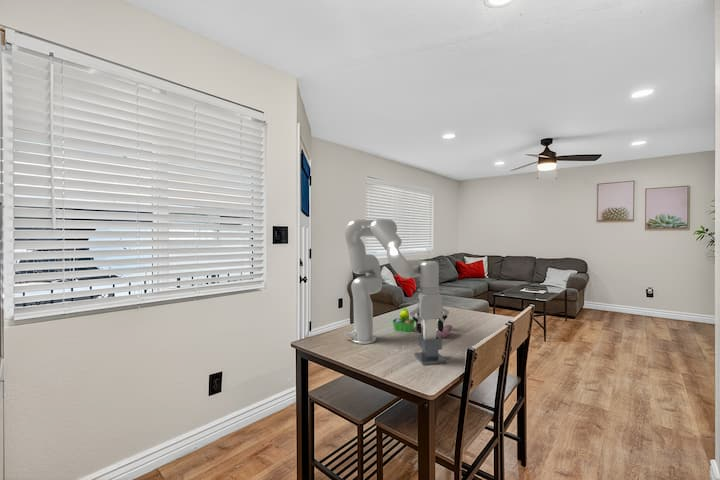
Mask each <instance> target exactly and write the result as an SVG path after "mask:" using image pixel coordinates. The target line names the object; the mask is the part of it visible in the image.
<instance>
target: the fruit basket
mask: <svg viewBox="0 0 720 480" xmlns="http://www.w3.org/2000/svg"><path fill="white" fill-rule="evenodd" d="M391 322H392V325H393V329H394V331H398V332H399V331H400V332H409V333H412V332H413V330H414V325H415V323H416V322H415V321H414V320H413V319H411V318H410V312H409V310H408V309H407V308H406V307H403V308H402V309H401V310H400V313H399V318H397V317H396V318H394V319H393V320H392V321H391Z"/></svg>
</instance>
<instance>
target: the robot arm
mask: <svg viewBox="0 0 720 480" xmlns="http://www.w3.org/2000/svg"><path fill="white" fill-rule="evenodd" d="M397 232H398V227H397V223H396V222H395V221H394V220H392V219H389V218H377V219H353V220H350V221H349V222H348V223H347V224H346V226H345V230H344V238H345V242H346V245H347V251H348V256H349V263H350V268H351V271H352V273H354V274H356V275H362V274H365V275H363V276H358V277H357V278H355V279H353V281H352V282H351V286H350V288H351V295H352V300H353V302H352V303H353V329H352V330H351V331H350V332H349V331H347V332H344V337H345V338H346V337H347V338H350V341H351V342H353V343H355V344H360V345H367V344H372V343H374V342H376V340H377V337H376V336H375V335H374V319H373V318H374V315H373V314H374V312H373V311H374V310H373V306H374V305H373V302H372V299H371V296H370V295H374V294H377V293H379V292H380V291H381V290H382V289H383V278H382V271H381V266H380V262H379V261H380V260H378V258H377V256H375V255H374V254H372V253H371V254H370V253H367V250H366V246H365V243H364V241H363V240H362V238H361V237H375V238H376V240H377V242H379V243H380V245H381V246H382V247H383V248H384V249H385V250H386V257H387V261H388V263H389V265H390V266H391V268H392V270H394V271H395V273H396V274H397V275H398V276H399V277H401V278H403V279H413V278H418V277H420V279H419V280H420V281H419V282H420V283H419V284H420V286H419V288H417V292H419V293H418V296H417V297H418V298H417V303H416V308H415V309H413V310H412V311H409V316H410V317H411V318H412V320H414V321H415V322H414V323H415V330H416V332H417V333H418V334H422V323H421V322H423V319H436V320H438V321H437V328H438V332H439V333H440V332H443V329H444V323H445V320H446V319H448V316H449V314H450V311H449V310H448V309H446V308H444V305H443V298H442V295H441V293H440V292H439V290H440V286H439V285H440V284H439V283H440V282H439V280H440V279H439V278H440V277H439V272H440V269H439V267H440V266H439V263H438V261H434V260H421V259H409V260H407V259H406V257H404V255H403V254H402V252H400V247H401V245H402V242H403V241H402V238H401V237H400V236H399V235H398V234H397ZM415 315H417V317H416V316H415Z"/></svg>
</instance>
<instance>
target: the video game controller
mask: <svg viewBox="0 0 720 480" xmlns="http://www.w3.org/2000/svg"><path fill="white" fill-rule="evenodd" d="M452 329H453V326H452V325H451V324H449V323H448V324H445V326H443V332H440V331H439V332H438V333H436V335H437V336H439V337H440V338H441V339H442V338H443V337H444V338H446V337H447V336H448V335H450V332H451V331H452Z"/></svg>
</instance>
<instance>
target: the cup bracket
mask: <svg viewBox="0 0 720 480" xmlns="http://www.w3.org/2000/svg"><path fill="white" fill-rule="evenodd" d="M417 336H418V337H417V340H418V341H417V342H418V346H419V347H420V348H421V352H414V357H415V358H416V359H417V360H418V362H420V363H421V364H422V365H423V366H429V365H440V364H441V365H442V364H447V359H446V358H445V357H443V356H442V355H441V354H440V353H439V351H440V350H443V340H442V338H440V337H439V336H437V334H436V339H429V340H426V339H424V338H423V333H419V334H418V335H417Z"/></svg>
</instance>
